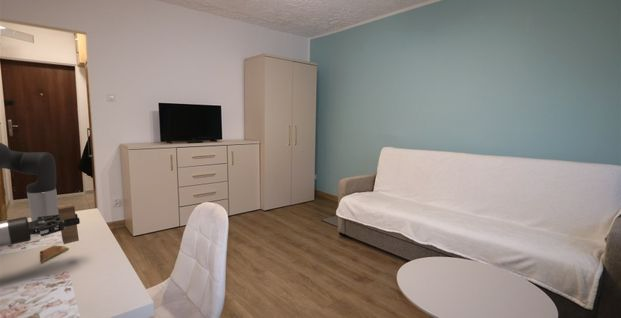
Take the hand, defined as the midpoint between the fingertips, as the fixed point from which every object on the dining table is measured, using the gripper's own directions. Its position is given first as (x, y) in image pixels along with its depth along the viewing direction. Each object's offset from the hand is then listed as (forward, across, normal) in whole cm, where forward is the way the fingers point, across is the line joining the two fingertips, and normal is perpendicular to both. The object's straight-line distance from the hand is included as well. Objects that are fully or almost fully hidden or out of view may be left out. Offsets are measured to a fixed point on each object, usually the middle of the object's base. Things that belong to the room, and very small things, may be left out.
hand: (78, 218), depth 104 cm
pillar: (-3, 0, +7) cm, 8 cm away
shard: (-7, +10, +15) cm, 20 cm away
